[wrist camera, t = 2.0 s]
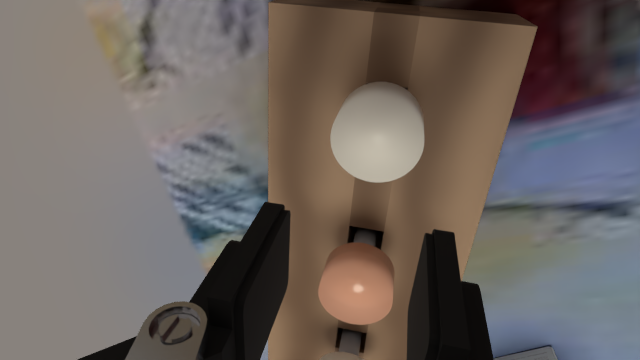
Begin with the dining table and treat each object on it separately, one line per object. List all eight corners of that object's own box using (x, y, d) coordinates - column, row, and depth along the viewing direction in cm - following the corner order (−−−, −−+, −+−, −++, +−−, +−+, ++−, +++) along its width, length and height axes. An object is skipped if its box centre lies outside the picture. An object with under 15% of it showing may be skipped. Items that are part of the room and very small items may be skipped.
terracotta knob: (401, 213, 29) (398, 275, 23) (392, 263, 31) (387, 330, 25) (338, 203, 29) (320, 261, 24) (333, 253, 31) (316, 316, 26)
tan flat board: (516, 14, 25) (537, 26, 21) (425, 349, 40) (426, 397, 36) (291, -6, 27) (268, 2, 23) (283, 320, 42) (268, 362, 38)
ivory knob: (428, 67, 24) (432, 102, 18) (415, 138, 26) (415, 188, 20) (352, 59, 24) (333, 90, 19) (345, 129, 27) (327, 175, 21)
